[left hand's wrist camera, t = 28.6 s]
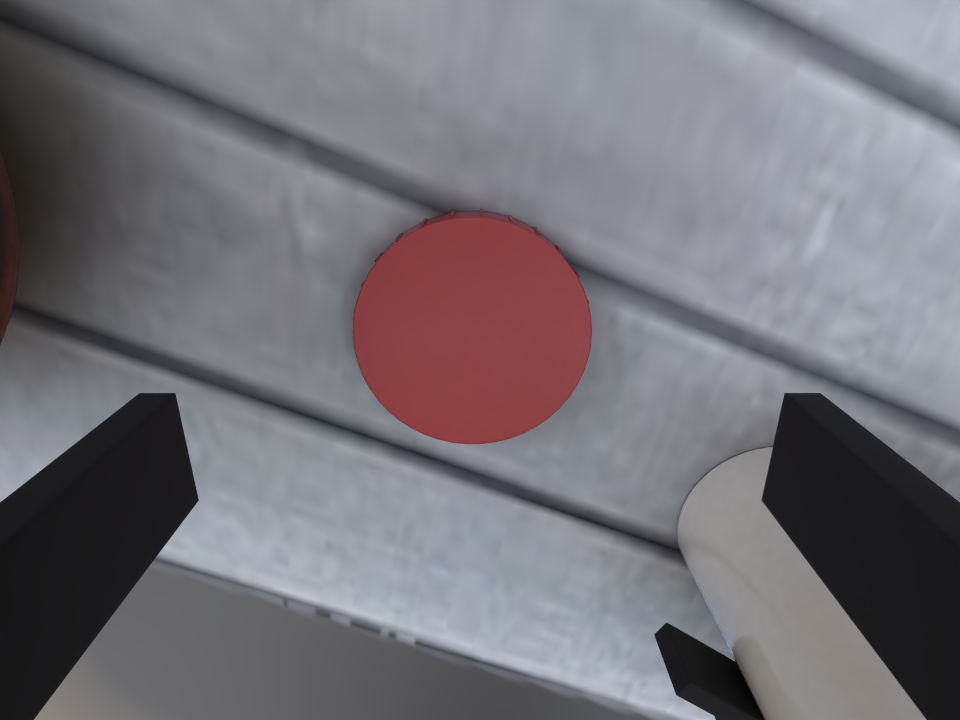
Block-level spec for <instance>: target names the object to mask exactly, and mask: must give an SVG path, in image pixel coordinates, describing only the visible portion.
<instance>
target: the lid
mask: <svg viewBox="0 0 960 720" xmlns="http://www.w3.org/2000/svg"><path fill="white" fill-rule="evenodd" d="M562 254H563V252H562V251H561V250H560V249H559V247H558V246H557V245H555V246H554V245H553V244H552V243H551V242H550V241H549V240H548V239H547V238H545V237H544V236H543V235H542V234H541V233H540V232H539V231H538V229H537V228H536V227H534V228H531V227H530V226H528V225H526V224H525V223H523V222H520V221H518V220H516V219H513V218H512V216H511V215H508V216H504V215H500V214H497V213H491V212H483V209H480V211H461V212H454V210H452V211H451V213H448V214H444V215H440V216H437V217H434V218H431V219H429V220H427V219H426V218H425V219H424V220H423V221H422V223H420V224H418V225H417V226H415V227H413V228H412V229H410V230H408V231H407V232H405V233H404V234H403V233H401V234H400V235H399V236H398V237H397V238H396V239H395V242H394V243H393V244H392V245H391V246H390V247H389V248H388V249H387V250H386V251H385V253H381V254H380V255H379V256H378V258H377V259H376V260H375V262H376V264H375V265H374V267H373V268H372V270H371V271H370V272H369V274H368V276H367V278H366V279H365V281H364V282H363V283H362V284H361V287H362V288H361V290H360V293H359V296H358V299H357V302H356V307H355V311H354V319H353V340H354V349H355V353H356V357H357V362H358V364H359V367H360V370H361V372H362V375H363V377H364V379H365V381H366V383H367V384H368V386H369V388H370V390H371V391H372V392H373V394H374V395H375V397H376V398H377V399H378V401H379V402H380V403H381V404H382V405H383V406H384V407H385V408H386V409H387V410H388V411H389V412H390V413H391V414H392V415H394V416H395V417H396V418H397V419H398V420H400V421H401V422H403V423H404V424H406V425H407V426H409V427H410V428H412V429H414V430H416V431H418V432H420V433H422V434H424V435H427V436H430V437H433V438H436V439H439V440H443V441H448V442H452V443H462V444H484V443H492V442H498V441H502V440H506V439H510V438H512V437H515V436H518V435H520V434H523V433H525V432H527V431H529V430H531V429H533V428H534V427H536V426H538V425H539V424H541V423H542V422H544V421H545V420H547V419H548V418H549V417H550V416H551V415H552V414H554V413H555V412H556V411H557V410H558V409H559V408H560V407H561V406H562V405H563V404H564V402H565V401H566V400H567V399H568V398H569V396H570V395H571V393H572V392H573V390H574V389H575V388H576V386H577V384H578V382H579V380H580V378H581V376H582V374H583V372H584V369H585V366H586V363H587V360H588V356H589V351H590V346H591V333H592V328H591V315H590V310H589V305H588V304H589V301H588V300H587V298H586V295H585V292H584V290H583V287H582V285H581V283H580V281H579V279H578V278H579V275H578V274H577V272H576V271H575V270H574V269H573V267H571V266H570V265H569V264H568V262H567V261H566V259H565V258H564V257H563V256H562Z"/></svg>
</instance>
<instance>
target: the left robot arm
mask: <svg viewBox="0 0 960 720" xmlns="http://www.w3.org/2000/svg"><path fill="white" fill-rule="evenodd" d="M197 502H198V495H197V491H196V486H195V481H194V477H193V472H192V468H191V463H190V459H189V454H188V449H187V445H186V440H185V436H184V431H183V426H182V422H181V417H180V413H179V408H178V403H177V399H176V394H175V393H139V394H138V395H137V396H136V397H134V398H133V399H132V400H130V401H129V402H128V403H127V404H125V405H124V406H123V407H122V408H120V409H119V410H118V411H116V412H115V413H114V414H113V415H111V416H110V417H109V418H108V419H106V420H105V421H104V422H102V423H101V424H100V425H99V426H97V427H96V428H95V429H94V430H92V431H91V432H90V433H88V434H87V435H86V436H85V437H83V438H82V439H81V440H79V441H78V442H77V443H76V444H74V445H73V446H72V447H71V448H69V449H68V450H67V451H65V452H64V453H63V454H62V455H60V456H59V457H58V458H57V459H55V460H54V461H53V462H51V463H50V464H49V465H48V466H46V467H45V468H44V469H43V470H41V471H40V472H39V473H37V474H36V475H35V476H34V477H32V478H31V479H30V480H29V481H27V482H26V483H25V484H23V485H22V486H21V487H20V488H18V489H17V490H16V491H14V492H13V493H12V494H11V495H9V496H8V497H7V498H6V499H4V500H3V501H2V502H0V720H34V718H35V717H36V716H37V714H38V713H39V712H40V710H41V709H42V708H43V706H44V705H45V704H46V702H47V701H48V700H49V698H50V697H51V696H52V694H53V693H54V692H55V691H56V689H57V688H58V687H59V685H60V684H61V683H62V681H63V680H64V679H65V677H66V676H67V675H68V673H69V672H70V671H71V669H72V668H73V667H74V665H75V664H76V663H77V661H78V660H79V659H80V657H81V656H82V655H83V653H84V652H85V651H86V649H87V648H88V647H89V645H90V644H91V643H92V641H93V640H94V639H95V637H96V636H97V635H98V633H99V632H100V631H101V629H102V628H103V627H104V625H105V624H106V623H107V621H108V620H109V619H110V617H111V616H112V615H113V613H114V612H115V611H116V609H117V608H118V607H119V605H120V604H121V603H122V601H123V600H124V599H125V597H126V596H127V595H128V594H129V592H130V591H131V590H132V588H133V587H134V585H135V584H136V583H137V582H138V580H139V579H140V577H141V576H142V575H143V574H144V572H145V571H146V570H147V568H148V567H149V566H150V564H151V563H152V562H153V560H154V559H155V558H156V556H157V555H158V554H159V552H160V551H161V550H162V548H163V547H164V546H165V544H166V543H167V542H168V540H169V539H170V538H171V536H172V535H173V534H174V532H175V531H176V530H177V528H178V527H179V526H180V524H181V523H182V522H183V520H184V519H185V518H186V516H187V515H188V514H189V512H190V511H191V510H192V508H193V507H194V506H195V504H196V503H197ZM762 502H763V503H764V504H765V506H766V507H767V508H768V510H769V511H770V512H771V514H772V515H773V516H774V518H775V519H776V520H777V522H778V523H779V524H780V526H781V527H782V528H783V530H784V531H785V532H786V534H787V535H788V536H789V538H790V539H791V540H792V542H793V543H794V544H795V546H796V547H797V548H798V550H799V551H800V552H801V554H802V555H803V556H804V558H805V559H806V560H807V562H808V563H809V564H810V566H811V567H812V568H813V570H814V571H815V572H816V574H817V575H818V576H819V578H820V579H821V580H822V582H823V583H824V584H825V586H826V587H827V588H828V590H829V591H830V592H831V594H832V595H833V596H834V598H835V599H836V600H837V601H838V603H839V604H840V605H841V607H842V608H843V609H844V611H845V612H846V613H847V615H848V616H849V617H850V619H851V620H852V621H853V623H854V624H855V625H856V627H857V628H858V629H859V631H860V632H861V633H862V635H863V636H864V637H865V639H866V640H867V641H868V643H869V644H870V645H871V647H872V648H873V649H874V651H875V652H876V653H877V655H878V656H879V657H880V659H881V660H882V661H883V663H884V664H885V665H886V667H887V668H888V669H889V671H890V672H891V673H892V675H893V676H894V677H895V679H896V680H897V681H898V683H899V684H900V685H901V687H902V688H903V689H904V691H905V692H906V693H907V695H908V696H909V697H910V699H911V700H912V701H913V703H914V704H915V705H916V706H917V708H918V709H919V710H920V712H921V713H922V714H923V716H924V717H925V718H926V720H960V502H958V501H957V500H956V499H954V498H953V497H952V496H951V495H949V494H948V493H947V492H946V491H944V490H943V489H942V488H940V487H939V486H938V485H937V484H935V483H934V482H933V481H931V480H930V479H929V478H928V477H926V476H925V475H924V474H923V473H921V472H920V471H919V470H917V469H916V468H915V467H914V466H912V465H911V464H910V463H909V462H907V461H906V460H905V459H903V458H902V457H901V456H900V455H898V454H897V453H896V452H895V451H893V450H892V449H891V448H889V447H888V446H887V445H886V444H884V443H883V442H882V441H881V440H879V439H878V438H877V437H875V436H874V435H873V434H872V433H870V432H869V431H868V430H866V429H865V428H864V427H863V426H861V425H860V424H859V423H858V422H856V421H855V420H854V419H852V418H851V417H850V416H849V415H847V414H846V413H845V412H844V411H842V410H841V409H840V408H838V407H837V406H836V405H835V404H833V403H832V402H831V401H830V400H828V399H827V398H826V397H824V396H823V395H822V394H821V393H785V394H784V399H783V403H782V408H781V413H780V417H779V422H778V426H777V431H776V436H775V440H774V445H773V449H772V454H771V459H770V463H769V468H768V472H767V477H766V481H765V486H764V491H763V495H762Z"/></svg>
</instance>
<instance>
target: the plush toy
mask: <svg viewBox="0 0 960 720" xmlns="http://www.w3.org/2000/svg"><path fill="white" fill-rule="evenodd" d="M19 259H20V256H19V228H18V221H17V214H16V208H15V201H14V195H13V192H12V188H11V184H10V180H9V177H8V173H7V169H6V165H5V162H4V158H3V155H2V152H1V149H0V344H1V342H2V339H3V336H4V333H5V331H6V328H7V325H8V322H9V320H10V317H11V312H12V308H13V303H14V299H15V294H16V290H17V281H18V270H19Z"/></svg>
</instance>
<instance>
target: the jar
mask: <svg viewBox="0 0 960 720" xmlns="http://www.w3.org/2000/svg"><path fill="white" fill-rule="evenodd" d="M772 449H773V447H766V448H761V449H755V450H752V451H748V452H745V453H742V454H740V455H737V456H735V457H732V458H730V459H729V460H727V461H725V462H723V463H721V464H720V465H718V466H717V467H715V468H714V469H712V470H711V471H710V472H709V473H708V474H707V475H705V476H704V477H703V478H702V479H701V480H700V481H699V482H698V483H697V485H696V486H695V487H694V488H693V490H692V491H691V492H690V494H689V495H688V497H687V499H686V501H685V503H684V505H683V507H682V510H681V513H680V516H679V521H678V530H677V535H678V544H679V547H680V551H681V553H682V556H683V558H684V560H685V562H686V564H687V566H688V568H689V570H690V572H691V574H692V576H693V578H694V580H695V582H696V584H697V586H698V588H699V590H700V592H701V594H702V596H703V598H704V600H705V602H706V604H707V606H708V608H709V610H710V612H711V614H712V616H713V618H714V620H715V622H716V624H717V626H718V628H719V630H720V631H721V633H722V635H723V637H724V639H725V641H726V643H727V645H728V647H729V649H730V651H731V653H732V655H733V657H734V659H735V661H736V663H737V665H738V667H739V669H740V671H741V673H742V675H743V677H744V679H745V681H746V683H747V685H748V687H749V689H750V691H751V693H752V695H753V697H754V699H755V701H756V703H757V705H758V707H759V709H760V711H761V713H762V715H763V717H764V719H765V720H926V718H925V717H924V716H923V714H922V713H921V712H920V710H919V709H918V708H917V706H916V705H915V704H914V703H913V701H912V700H911V699H910V697H909V696H908V695H907V693H906V692H905V691H904V689H903V688H902V687H901V685H900V684H899V683H898V681H897V680H896V679H895V677H894V676H893V675H892V673H891V672H890V671H889V669H888V668H887V667H886V665H885V664H884V663H883V661H882V660H881V659H880V657H879V656H878V655H877V653H876V652H875V651H874V649H873V648H872V647H871V645H870V644H869V643H868V641H867V640H866V639H865V637H864V636H863V635H862V633H861V632H860V631H859V629H858V628H857V627H856V625H855V624H854V623H853V621H852V620H851V619H850V617H849V616H848V615H847V613H846V612H845V611H844V609H843V608H842V607H841V605H840V604H839V603H838V601H837V600H836V599H835V598H834V596H833V595H832V594H831V592H830V591H829V590H828V588H827V587H826V586H825V584H824V583H823V582H822V580H821V579H820V578H819V576H818V575H817V574H816V572H815V571H814V570H813V568H812V567H811V566H810V564H809V563H808V562H807V560H806V559H805V558H804V556H803V555H802V554H801V552H800V551H799V550H798V548H797V547H796V546H795V544H794V543H793V542H792V540H791V539H790V538H789V536H788V535H787V534H786V532H785V531H784V530H783V528H782V527H781V526H780V524H779V523H778V522H777V520H776V519H775V518H774V516H773V515H772V514H771V512H770V511H769V510H768V508H767V507H766V506H765V504H764V503H763V502H762V495H763V491H764V486H765V481H766V477H767V472H768V468H769V463H770V459H771V454H772Z"/></svg>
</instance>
